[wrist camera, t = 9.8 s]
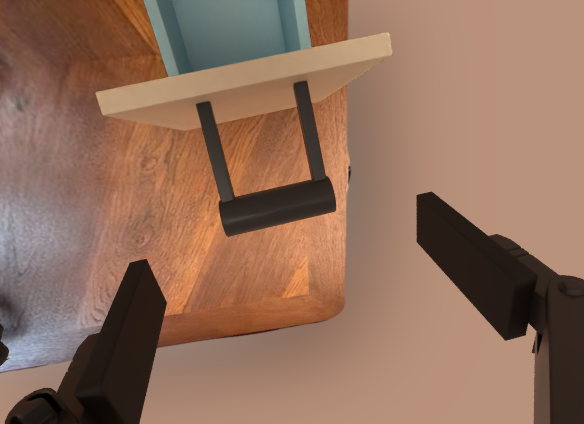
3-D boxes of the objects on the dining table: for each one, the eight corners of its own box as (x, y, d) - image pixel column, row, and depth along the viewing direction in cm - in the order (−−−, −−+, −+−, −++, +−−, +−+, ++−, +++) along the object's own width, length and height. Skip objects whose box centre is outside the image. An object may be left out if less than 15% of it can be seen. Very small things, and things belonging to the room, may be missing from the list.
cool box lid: (94, 91, 15) (150, 267, 16) (390, 31, 15) (414, 204, 17) (181, 120, 32) (204, 203, 34) (318, 90, 33) (334, 174, 34)
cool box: (141, -71, 34) (106, -113, 25) (270, -94, 35) (285, -144, 25) (194, 103, 42) (183, 124, 33) (298, 81, 43) (317, 95, 33)
